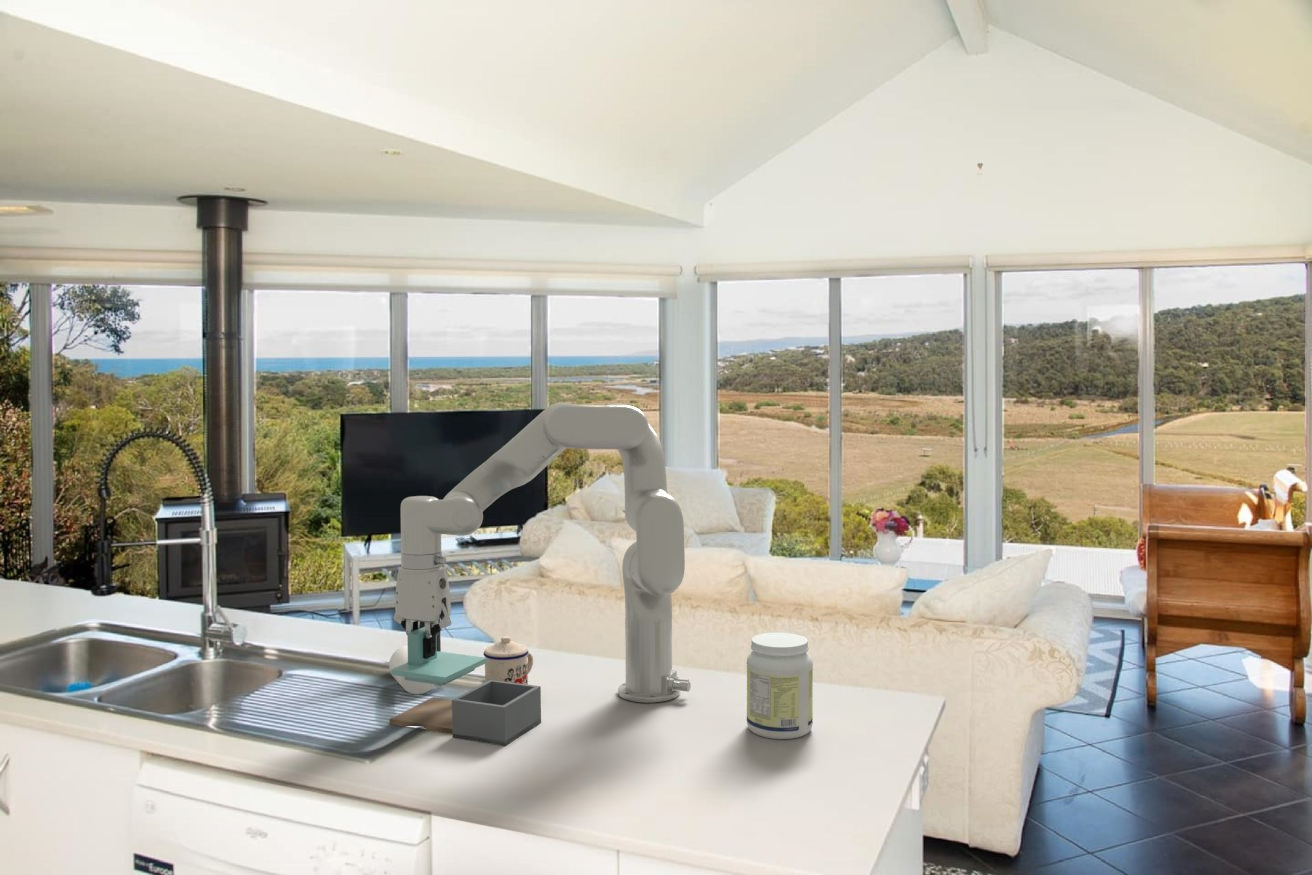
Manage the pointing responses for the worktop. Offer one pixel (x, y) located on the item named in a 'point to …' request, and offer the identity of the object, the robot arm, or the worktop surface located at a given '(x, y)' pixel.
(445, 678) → the lid
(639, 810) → the worktop surface
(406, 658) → the mug
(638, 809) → the worktop surface
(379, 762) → the worktop surface
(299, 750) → the worktop surface
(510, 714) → the tub
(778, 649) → the supplement tub
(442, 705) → the board
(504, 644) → the teacup with lid
